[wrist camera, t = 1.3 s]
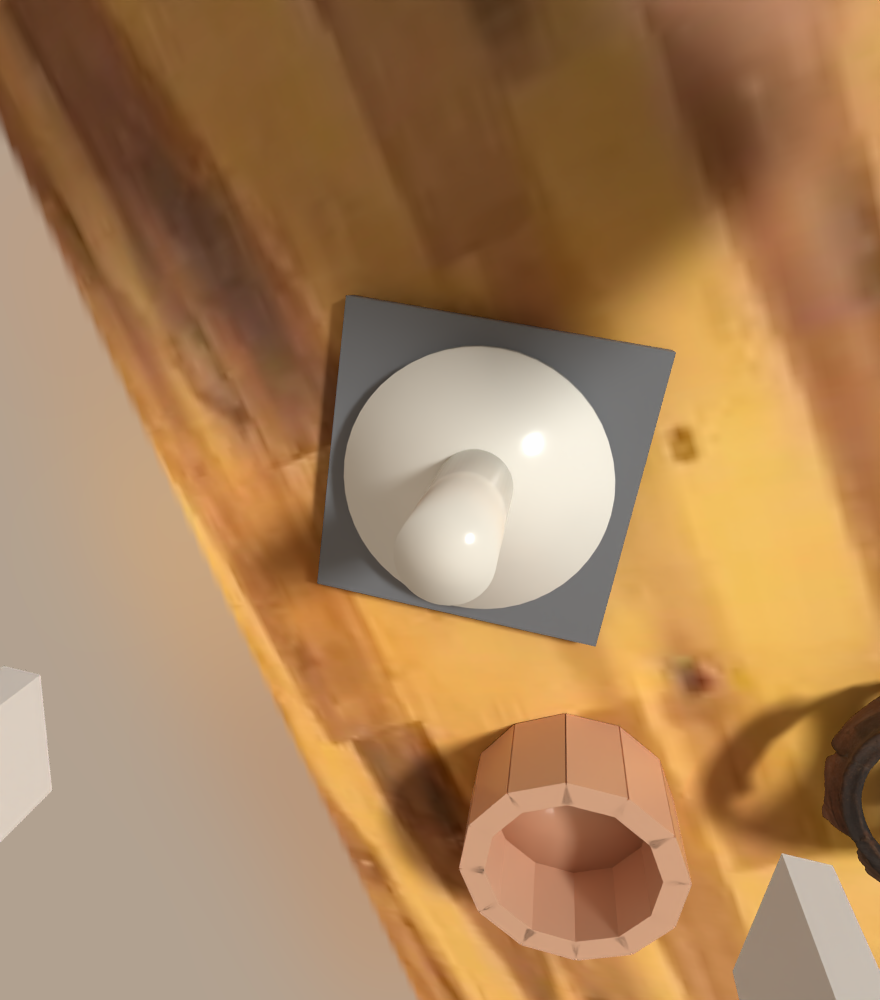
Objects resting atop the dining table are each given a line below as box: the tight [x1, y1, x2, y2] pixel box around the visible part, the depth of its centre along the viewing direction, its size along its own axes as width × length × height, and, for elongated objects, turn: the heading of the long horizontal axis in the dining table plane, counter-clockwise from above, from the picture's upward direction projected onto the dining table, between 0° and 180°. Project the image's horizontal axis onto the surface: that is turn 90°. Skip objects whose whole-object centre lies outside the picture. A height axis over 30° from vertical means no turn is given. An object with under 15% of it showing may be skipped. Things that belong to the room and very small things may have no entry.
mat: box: [317, 295, 676, 646], centre depth 30 cm, size 14×14×1 cm
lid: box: [344, 345, 615, 609], centre depth 25 cm, size 12×12×9 cm
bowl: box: [459, 714, 692, 960], centre depth 33 cm, size 10×10×5 cm
